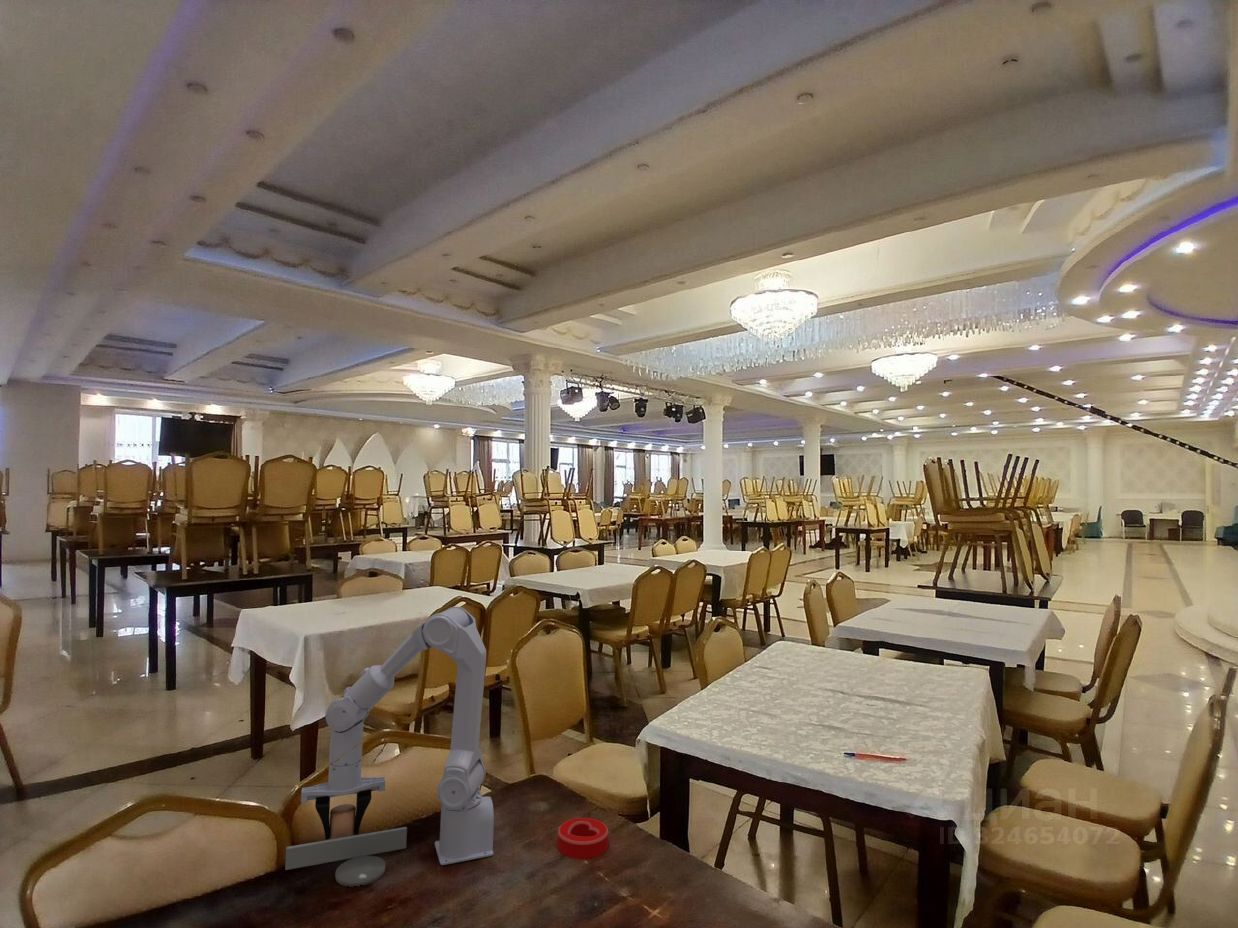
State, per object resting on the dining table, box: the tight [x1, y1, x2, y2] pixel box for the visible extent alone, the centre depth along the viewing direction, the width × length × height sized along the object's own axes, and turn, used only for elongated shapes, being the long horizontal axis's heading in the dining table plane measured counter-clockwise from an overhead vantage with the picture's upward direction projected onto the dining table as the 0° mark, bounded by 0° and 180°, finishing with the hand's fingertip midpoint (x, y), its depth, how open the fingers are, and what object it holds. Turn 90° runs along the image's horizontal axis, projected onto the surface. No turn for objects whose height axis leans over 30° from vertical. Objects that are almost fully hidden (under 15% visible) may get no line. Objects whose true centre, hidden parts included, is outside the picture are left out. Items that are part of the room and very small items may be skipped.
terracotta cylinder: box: [328, 803, 356, 840], centre depth 121 cm, size 4×4×6 cm
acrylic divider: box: [284, 826, 408, 871], centre depth 115 cm, size 20×1×4 cm, turn 114°
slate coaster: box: [334, 855, 386, 888], centre depth 111 cm, size 8×8×1 cm
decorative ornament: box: [556, 817, 609, 860], centre depth 122 cm, size 10×10×3 cm
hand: (341, 834), depth 120 cm, fingers closed on terracotta cylinder, 4 cm apart
